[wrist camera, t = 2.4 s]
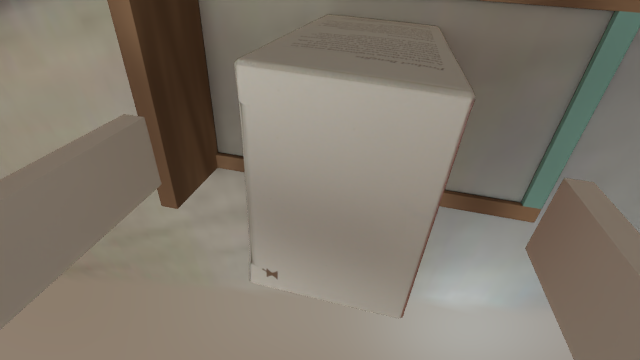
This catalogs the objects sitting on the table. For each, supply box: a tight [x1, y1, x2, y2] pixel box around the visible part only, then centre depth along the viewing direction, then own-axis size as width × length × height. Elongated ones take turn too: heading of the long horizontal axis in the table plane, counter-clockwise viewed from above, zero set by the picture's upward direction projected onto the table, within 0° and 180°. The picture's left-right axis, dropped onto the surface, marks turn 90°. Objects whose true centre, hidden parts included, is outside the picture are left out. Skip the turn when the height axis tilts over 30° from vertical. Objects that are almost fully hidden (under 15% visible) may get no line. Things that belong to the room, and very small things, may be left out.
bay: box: [107, 0, 640, 223], centre depth 16 cm, size 21×12×5 cm, turn 86°
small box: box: [234, 15, 476, 318], centre depth 14 cm, size 8×6×10 cm
